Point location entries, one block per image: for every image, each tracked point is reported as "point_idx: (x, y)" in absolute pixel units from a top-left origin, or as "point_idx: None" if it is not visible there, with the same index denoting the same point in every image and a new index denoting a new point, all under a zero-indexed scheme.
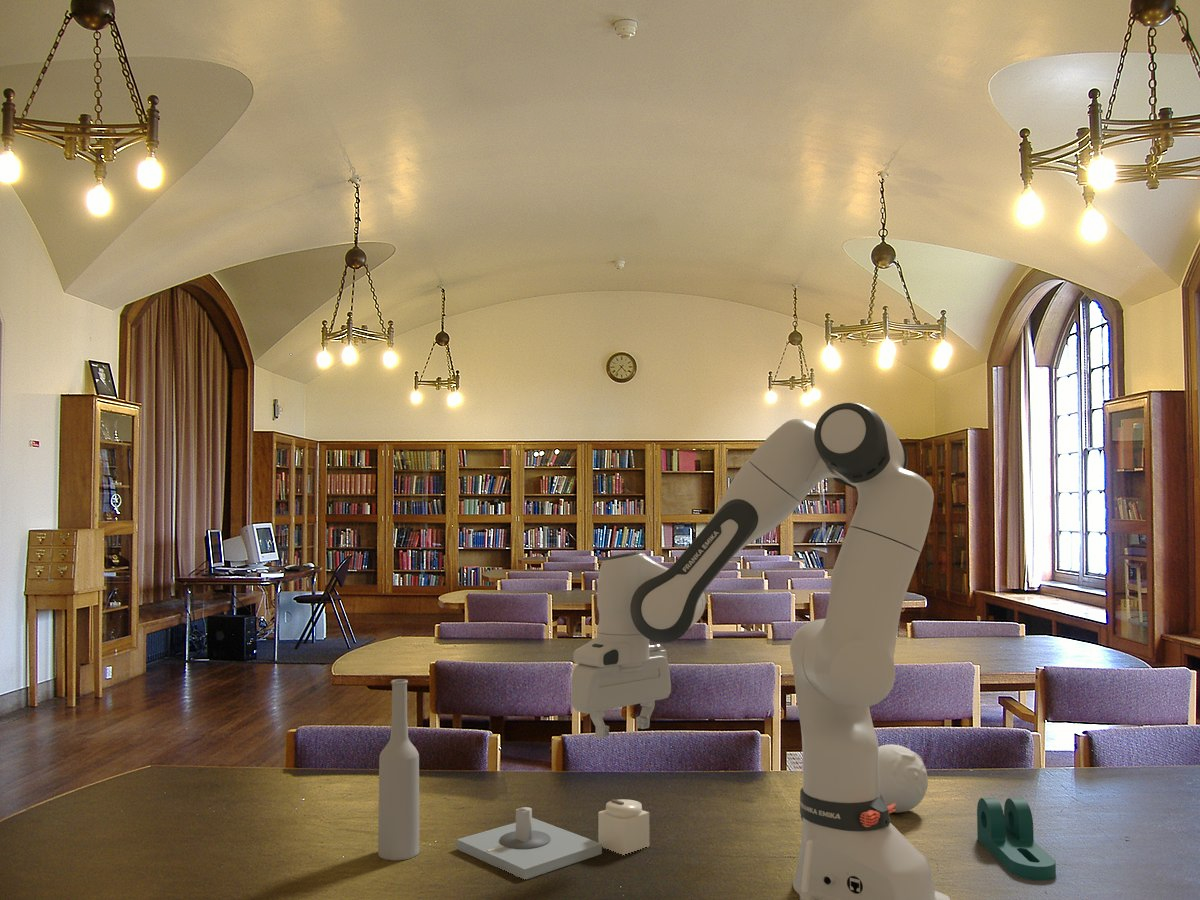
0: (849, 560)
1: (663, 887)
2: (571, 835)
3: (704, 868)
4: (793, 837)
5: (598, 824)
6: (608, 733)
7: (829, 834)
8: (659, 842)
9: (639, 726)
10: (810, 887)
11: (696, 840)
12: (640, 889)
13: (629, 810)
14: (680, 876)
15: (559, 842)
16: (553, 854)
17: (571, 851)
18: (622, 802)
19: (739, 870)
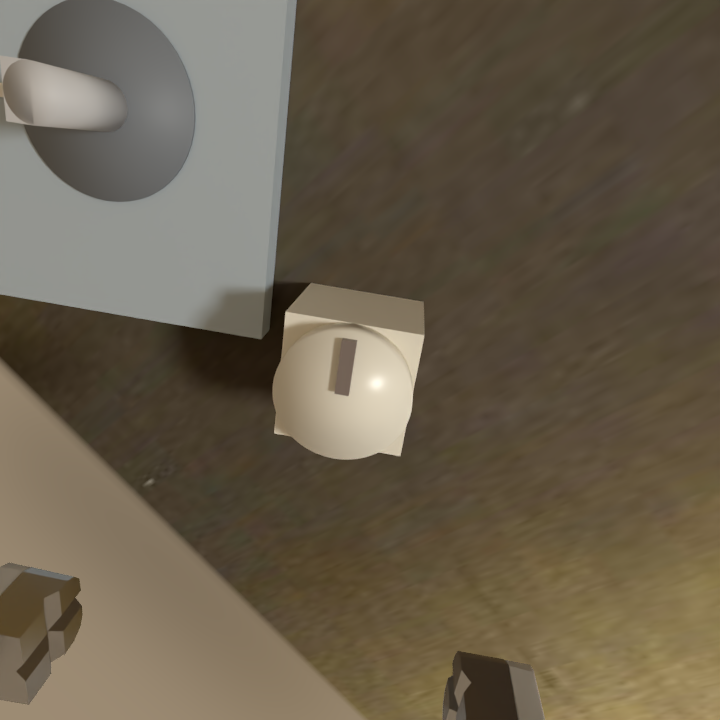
0: None
1: (212, 552)
2: (249, 211)
3: (362, 572)
4: (691, 649)
5: (296, 299)
6: (58, 651)
7: None
8: (452, 406)
9: (455, 679)
10: None
11: (529, 478)
12: (168, 522)
13: (305, 446)
14: (286, 553)
15: (176, 224)
16: (98, 277)
17: (151, 306)
18: (343, 393)
19: (401, 630)
